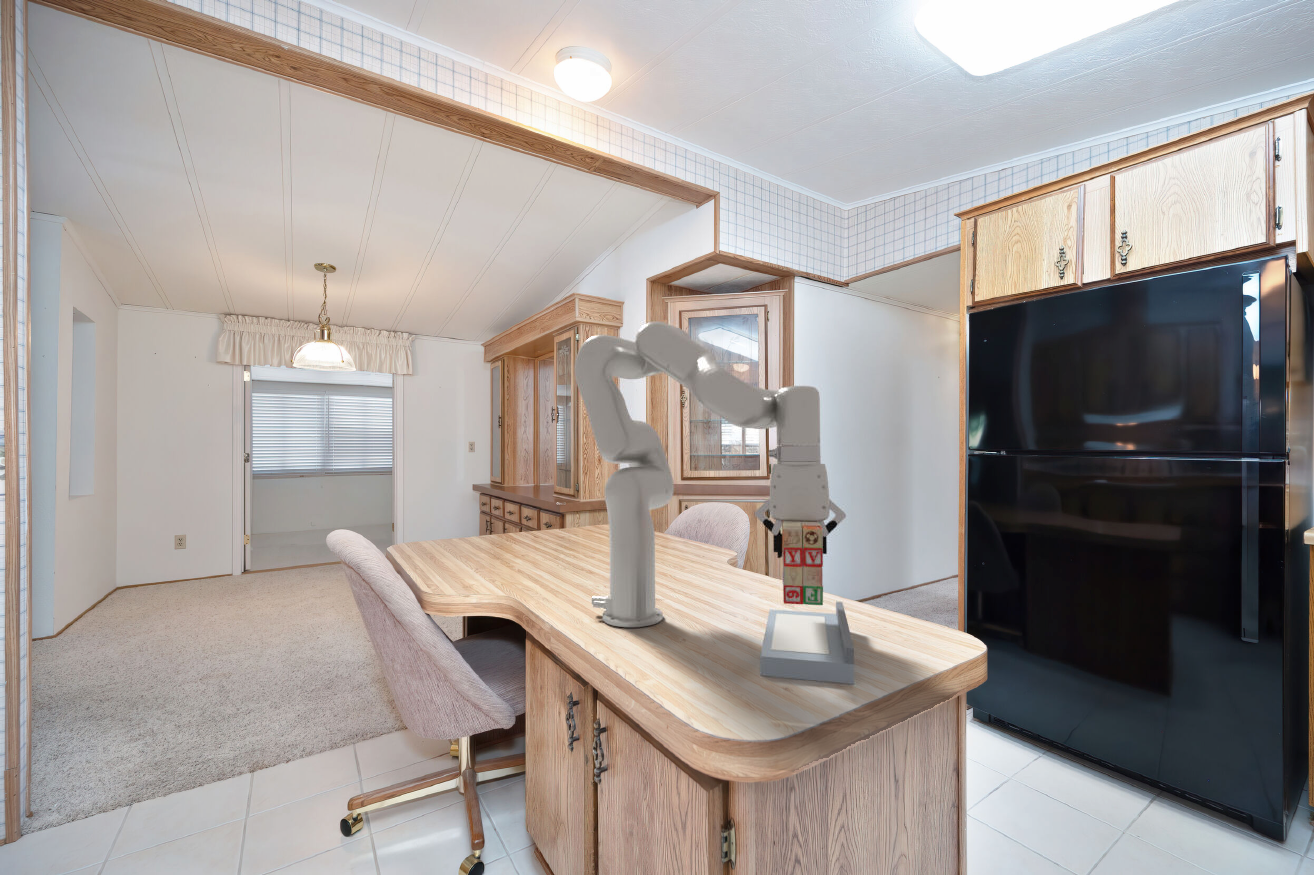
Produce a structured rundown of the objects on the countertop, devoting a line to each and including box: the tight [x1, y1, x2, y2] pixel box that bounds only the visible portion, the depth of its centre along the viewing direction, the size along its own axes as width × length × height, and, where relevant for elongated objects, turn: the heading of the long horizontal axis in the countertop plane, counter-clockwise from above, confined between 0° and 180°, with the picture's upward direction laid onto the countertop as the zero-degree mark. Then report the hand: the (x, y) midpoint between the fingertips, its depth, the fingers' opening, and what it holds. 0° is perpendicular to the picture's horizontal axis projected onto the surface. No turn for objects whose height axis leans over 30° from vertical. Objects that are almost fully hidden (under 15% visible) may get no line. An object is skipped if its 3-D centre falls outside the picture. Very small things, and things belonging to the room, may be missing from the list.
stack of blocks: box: [780, 521, 824, 606], centre depth 101 cm, size 21×6×12 cm, turn 168°
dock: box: [759, 601, 855, 685], centre depth 100 cm, size 14×26×5 cm, turn 166°
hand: (800, 556), depth 100 cm, fingers closed on stack of blocks, 6 cm apart
